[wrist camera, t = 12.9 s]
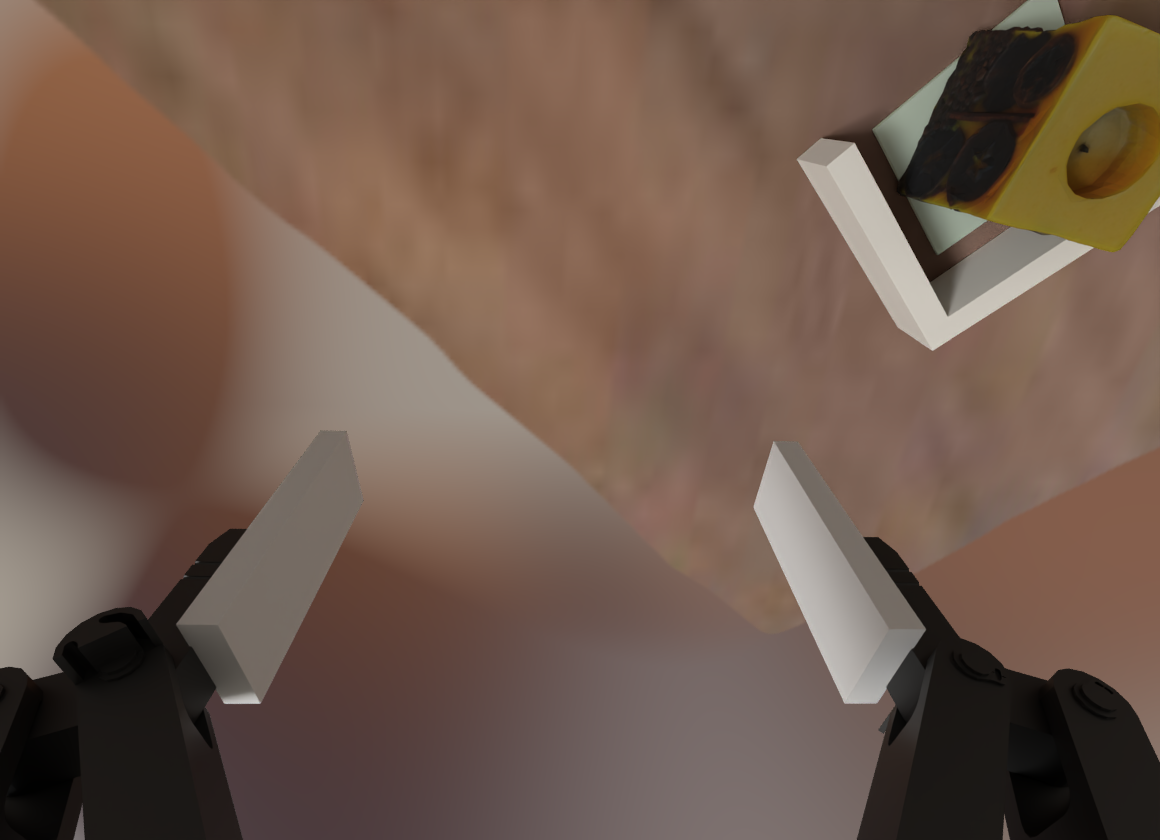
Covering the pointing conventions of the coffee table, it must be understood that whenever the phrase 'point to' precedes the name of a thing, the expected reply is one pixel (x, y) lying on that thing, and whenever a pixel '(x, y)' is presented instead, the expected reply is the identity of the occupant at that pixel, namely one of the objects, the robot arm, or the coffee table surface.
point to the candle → (1048, 131)
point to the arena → (895, 268)
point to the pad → (913, 115)
